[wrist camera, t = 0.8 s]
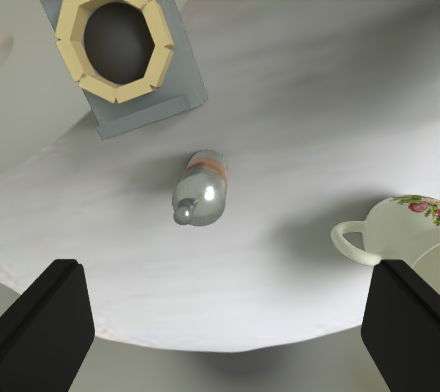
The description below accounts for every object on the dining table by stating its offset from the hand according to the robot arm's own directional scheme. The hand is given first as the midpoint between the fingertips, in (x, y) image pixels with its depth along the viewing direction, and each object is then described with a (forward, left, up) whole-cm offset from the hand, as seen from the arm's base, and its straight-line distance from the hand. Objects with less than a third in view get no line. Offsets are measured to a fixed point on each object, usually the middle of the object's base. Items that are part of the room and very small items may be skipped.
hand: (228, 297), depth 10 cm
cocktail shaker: (+4, +3, -29) cm, 29 cm away
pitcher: (-16, +17, -29) cm, 37 cm away
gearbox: (+6, -12, -29) cm, 32 cm away
